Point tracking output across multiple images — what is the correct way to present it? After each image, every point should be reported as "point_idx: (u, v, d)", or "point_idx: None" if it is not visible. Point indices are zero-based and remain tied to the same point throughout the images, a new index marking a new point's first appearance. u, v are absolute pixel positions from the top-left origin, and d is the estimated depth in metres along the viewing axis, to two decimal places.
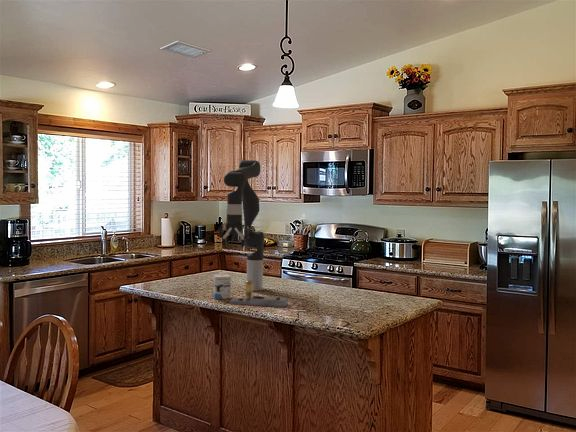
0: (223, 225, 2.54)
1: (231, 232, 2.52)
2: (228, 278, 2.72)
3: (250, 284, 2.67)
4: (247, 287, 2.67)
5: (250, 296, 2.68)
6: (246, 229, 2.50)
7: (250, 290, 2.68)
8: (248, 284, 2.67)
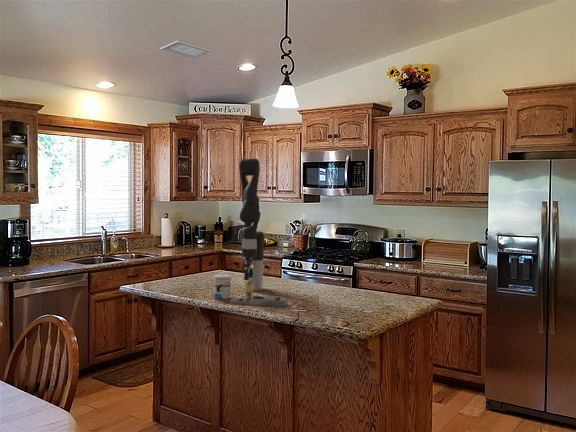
0: (245, 260, 2.63)
1: None
2: (228, 278, 2.72)
3: (250, 284, 2.67)
4: (247, 287, 2.67)
5: (250, 296, 2.68)
6: (254, 260, 2.74)
7: (250, 290, 2.68)
8: (248, 284, 2.67)
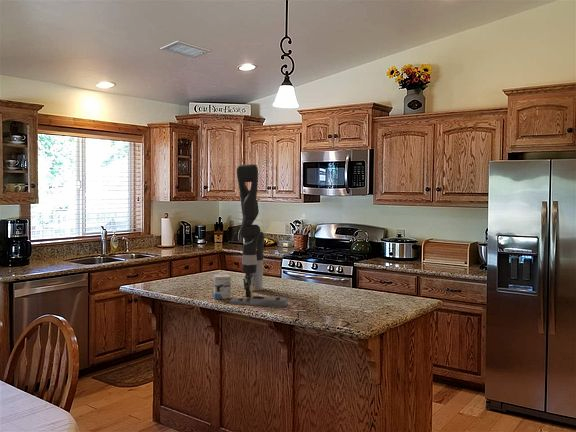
0: (245, 278, 2.63)
1: None
2: (228, 278, 2.72)
3: None
4: None
5: (250, 296, 2.68)
6: (254, 278, 2.74)
7: (250, 290, 2.68)
8: None
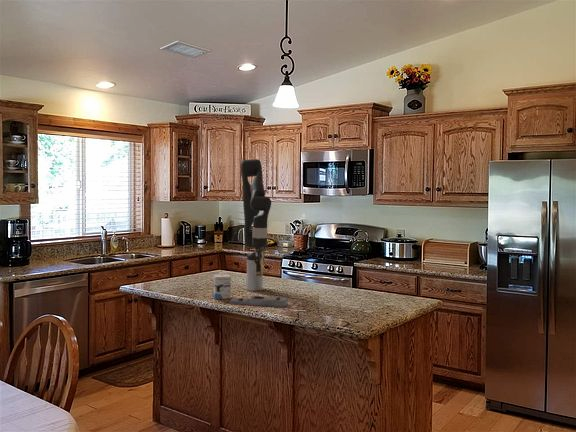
0: (256, 252, 2.55)
1: (261, 254, 2.60)
2: (228, 278, 2.72)
3: None
4: None
5: (260, 271, 2.59)
6: (264, 252, 2.66)
7: None
8: None
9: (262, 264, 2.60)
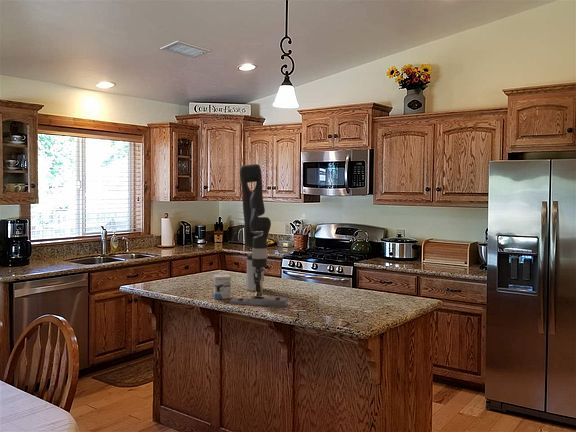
0: (256, 272, 2.55)
1: None
2: (228, 278, 2.72)
3: None
4: None
5: (260, 291, 2.60)
6: None
7: (260, 285, 2.59)
8: None
9: (262, 284, 2.60)
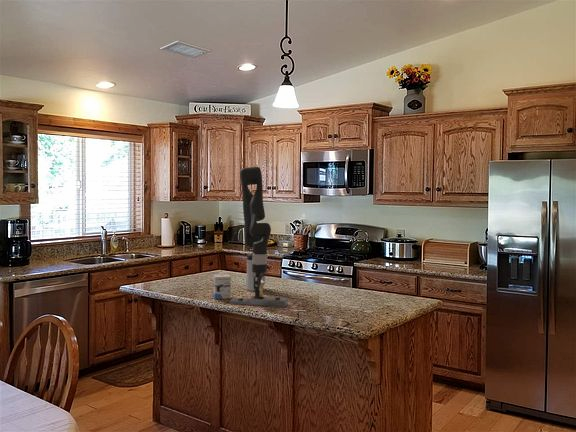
0: (256, 277, 2.55)
1: None
2: (228, 278, 2.72)
3: (260, 287, 2.59)
4: None
5: None
6: (264, 276, 2.67)
7: (260, 293, 2.60)
8: None
9: (262, 293, 2.60)
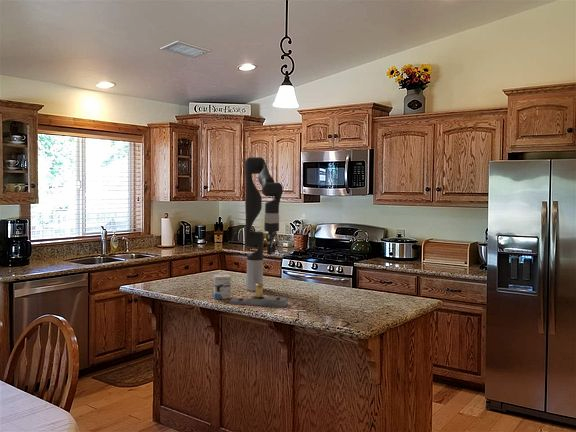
0: (268, 234, 2.61)
1: None
2: (228, 278, 2.72)
3: (260, 287, 2.59)
4: (257, 290, 2.59)
5: None
6: (276, 235, 2.72)
7: (260, 293, 2.60)
8: (258, 287, 2.59)
9: (262, 293, 2.60)
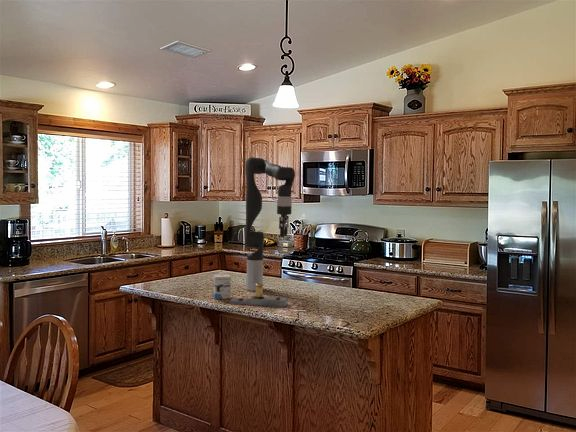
0: (281, 217, 2.68)
1: (285, 222, 2.72)
2: (228, 278, 2.72)
3: (260, 287, 2.59)
4: (257, 290, 2.59)
5: None
6: (288, 218, 2.79)
7: (260, 293, 2.60)
8: (258, 287, 2.59)
9: (262, 293, 2.60)
